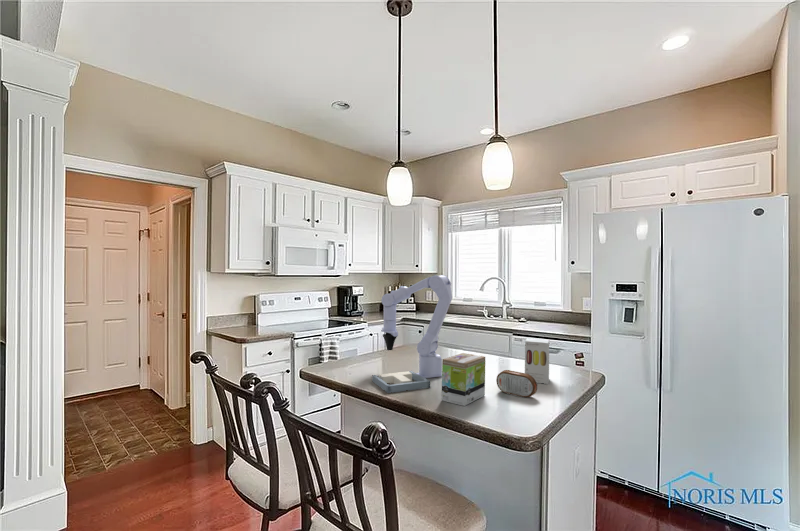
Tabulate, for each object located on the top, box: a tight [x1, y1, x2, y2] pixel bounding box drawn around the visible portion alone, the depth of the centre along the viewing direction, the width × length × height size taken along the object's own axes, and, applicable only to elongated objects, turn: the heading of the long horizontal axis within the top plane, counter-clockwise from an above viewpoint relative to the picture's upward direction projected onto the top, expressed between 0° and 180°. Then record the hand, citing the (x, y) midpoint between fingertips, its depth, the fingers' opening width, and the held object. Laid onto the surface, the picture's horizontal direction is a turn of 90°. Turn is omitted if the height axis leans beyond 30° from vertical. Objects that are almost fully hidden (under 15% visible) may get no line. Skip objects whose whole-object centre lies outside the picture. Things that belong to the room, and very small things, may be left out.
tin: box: [496, 369, 538, 398], centre depth 147 cm, size 15×3×8 cm, turn 50°
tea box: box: [441, 352, 486, 407], centre depth 143 cm, size 15×10×15 cm, turn 143°
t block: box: [378, 370, 413, 384], centre depth 160 cm, size 13×13×3 cm
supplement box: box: [524, 337, 550, 385], centre depth 166 cm, size 10×9×17 cm
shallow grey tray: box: [371, 370, 431, 394], centre depth 160 cm, size 18×17×2 cm
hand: (389, 349), depth 181 cm, fingers closed
